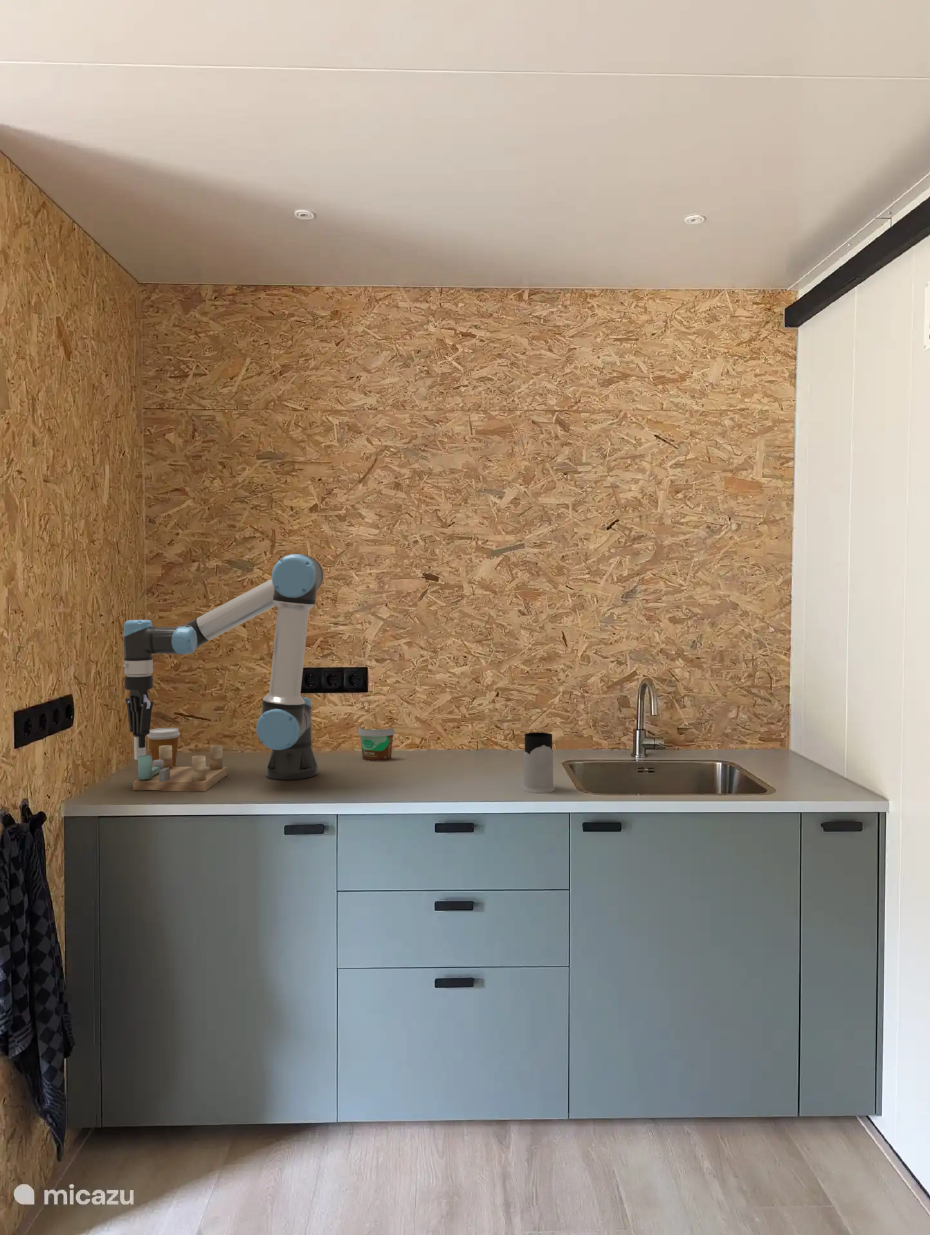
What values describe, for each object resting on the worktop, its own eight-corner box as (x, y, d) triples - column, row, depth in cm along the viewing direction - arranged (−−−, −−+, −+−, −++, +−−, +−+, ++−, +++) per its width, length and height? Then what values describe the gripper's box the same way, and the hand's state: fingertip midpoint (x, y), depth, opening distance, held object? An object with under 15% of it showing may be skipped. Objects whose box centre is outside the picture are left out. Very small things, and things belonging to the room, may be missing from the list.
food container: (351, 760, 289) (351, 729, 288) (359, 756, 294) (359, 726, 294) (388, 762, 285) (387, 730, 285) (395, 758, 291) (395, 727, 290)
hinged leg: (154, 770, 262) (153, 749, 262) (166, 770, 262) (165, 749, 262) (136, 779, 250) (135, 757, 250) (148, 779, 250) (148, 757, 250)
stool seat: (227, 775, 269) (227, 744, 268) (205, 791, 249) (204, 758, 248) (160, 774, 269) (160, 744, 269) (133, 790, 249) (132, 758, 249)
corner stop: (170, 778, 253) (169, 767, 253) (164, 781, 249) (164, 770, 249) (164, 778, 254) (164, 767, 253) (159, 781, 250) (159, 770, 249)
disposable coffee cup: (185, 766, 282) (184, 727, 281) (172, 772, 272) (172, 733, 272) (156, 765, 283) (155, 727, 282) (142, 772, 273) (141, 732, 273)
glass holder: (529, 794, 243) (528, 738, 242) (511, 782, 256) (511, 729, 256) (559, 791, 245) (559, 736, 244) (540, 780, 259) (540, 728, 258)
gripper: (115, 674, 257) (117, 757, 258) (135, 678, 247) (137, 764, 248) (141, 672, 262) (143, 753, 263) (161, 675, 252) (163, 760, 253)
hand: (140, 758), depth 256 cm, fingers closed
